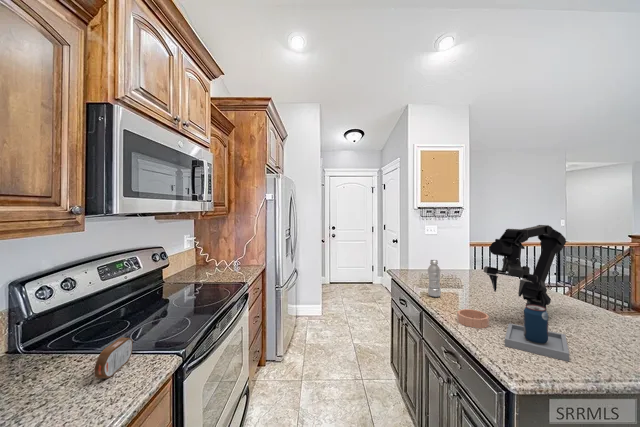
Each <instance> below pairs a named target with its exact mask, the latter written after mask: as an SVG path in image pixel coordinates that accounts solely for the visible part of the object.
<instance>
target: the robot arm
mask: <svg viewBox="0 0 640 427" xmlns="http://www.w3.org/2000/svg"><path fill="white" fill-rule="evenodd" d="M535 237H537V239H538V240H539V241H540V243H539V244H540V247H541V253H540V254H539V258H538V261H537V263H536V265H535V268H534V270H533V273H530V271H531V268H530V266H528V265H523V266H521V264H522V263H521V253H522V250H525V249H526V248H525V245H523V243H525V242H527V241H528V240H529V239H530V238H535ZM566 243H567V239H566V237H565V236H564V235H563V234H562V233H561V232H559V231H558V230H556V229H554V228H553V227H552V226H551V225H549V224H538V225H536V226H531V227H526V228H506V229H505V231H504V232H503V233H502V235H501V236H500V238H495V240H494V241H493V242H492V243H491V244H490V245H489V252H490V253H491V254H492V255H495V256H500V257H503V258H502V267H501V269H499V268H497V267H494V266H487V265H486V266H484V268H483V273H486V275H488V276H489V279H490V282H491V285H492V288H493V289H492V290H493V292H497V286H498V282H497V281H498V277H499V276H498V275H502V276H503V275H504V276H507V277H508V276H509V277H514V278H518V279H519V278H520V279H519V286H518V288H519V289H518V292H517V293H518V294H517V295H518V297H522V298H523V300H525V301H526V303H525V306H526V305H538V306H542V307H544V308H546V309H547V306H549V305H550V304H551V300H552V299H551V297H550V296H549V295H548V293H547V291H548V288H547V286H546V280H547V278H548V275H549V273H550V269H551V268H552V265H553V262H554V259H555V256H556V254H559V253H560V252H561V251H562V250H563V249H564V247H565V245H566Z"/></svg>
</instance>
